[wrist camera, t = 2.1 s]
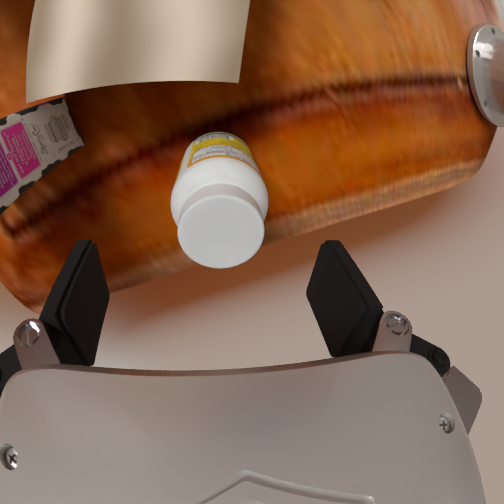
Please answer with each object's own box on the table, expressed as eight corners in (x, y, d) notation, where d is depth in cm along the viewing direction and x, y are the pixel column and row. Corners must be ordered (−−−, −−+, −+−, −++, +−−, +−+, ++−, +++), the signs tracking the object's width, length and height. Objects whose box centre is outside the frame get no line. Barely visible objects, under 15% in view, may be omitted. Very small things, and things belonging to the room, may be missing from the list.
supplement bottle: (215, 116, 17) (218, 152, 10) (267, 162, 20) (303, 229, 13) (167, 168, 19) (140, 241, 12) (219, 208, 22) (226, 294, 15)
